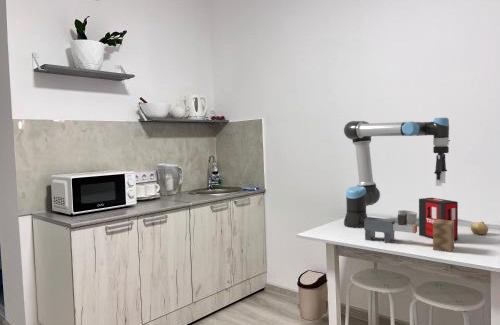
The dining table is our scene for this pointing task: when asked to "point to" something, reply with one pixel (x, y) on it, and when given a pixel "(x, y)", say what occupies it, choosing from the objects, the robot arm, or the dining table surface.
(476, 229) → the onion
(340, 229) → the dining table surface
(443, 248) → the socket block
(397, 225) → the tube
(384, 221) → the grey arched bench
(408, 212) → the teacup
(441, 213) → the cleaning product box
